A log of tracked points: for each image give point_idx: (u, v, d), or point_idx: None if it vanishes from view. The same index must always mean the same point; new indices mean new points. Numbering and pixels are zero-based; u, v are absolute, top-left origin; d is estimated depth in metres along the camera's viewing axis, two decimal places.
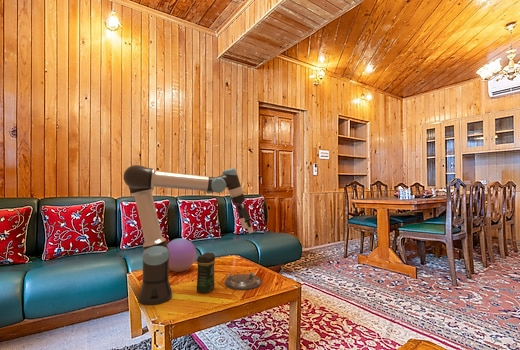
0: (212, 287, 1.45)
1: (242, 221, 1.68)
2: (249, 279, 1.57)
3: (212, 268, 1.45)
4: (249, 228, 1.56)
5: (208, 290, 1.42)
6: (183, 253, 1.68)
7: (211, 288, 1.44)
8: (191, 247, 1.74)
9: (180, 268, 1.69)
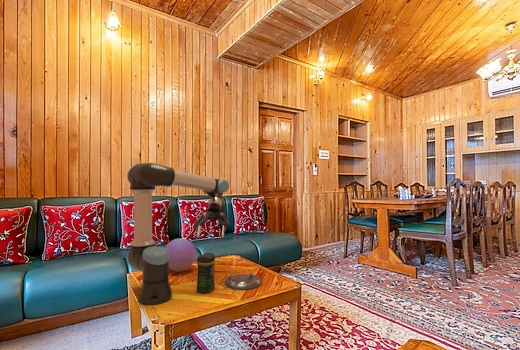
0: (212, 287, 1.45)
1: (199, 228, 1.61)
2: (249, 279, 1.57)
3: (212, 268, 1.45)
4: (223, 232, 1.59)
5: (208, 290, 1.42)
6: (183, 253, 1.68)
7: (211, 288, 1.44)
8: (191, 247, 1.74)
9: (180, 268, 1.69)
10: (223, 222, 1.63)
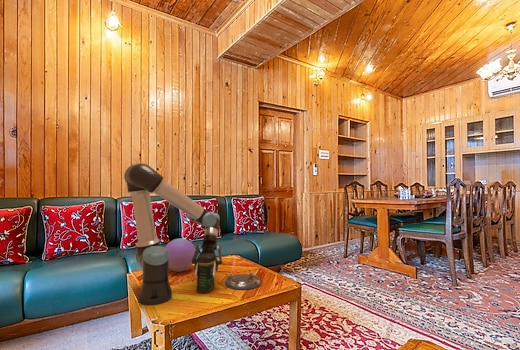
0: (212, 287, 1.45)
1: None
2: (249, 279, 1.57)
3: (212, 268, 1.45)
4: (215, 271, 1.45)
5: (208, 290, 1.42)
6: (183, 253, 1.68)
7: (211, 288, 1.44)
8: (191, 247, 1.74)
9: (180, 268, 1.69)
10: (215, 259, 1.49)
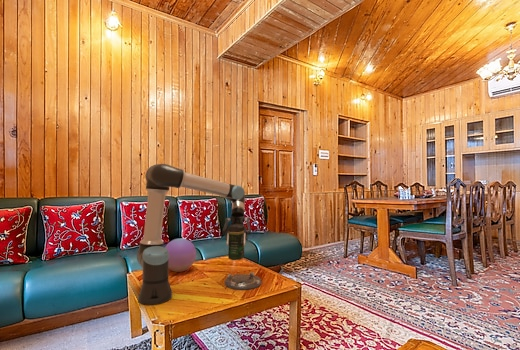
0: (242, 255, 1.53)
1: (228, 236, 1.55)
2: (249, 279, 1.57)
3: (242, 237, 1.53)
4: None
5: (239, 257, 1.51)
6: (183, 253, 1.68)
7: (242, 256, 1.53)
8: (191, 247, 1.74)
9: (180, 268, 1.69)
10: (245, 229, 1.57)
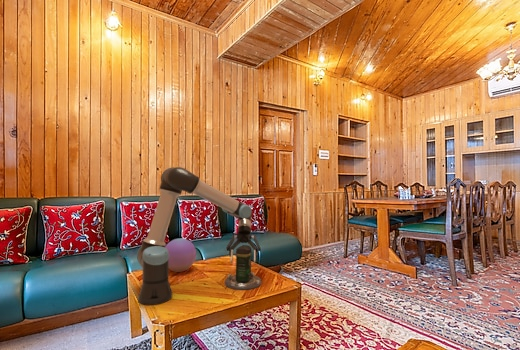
0: (250, 277, 1.55)
1: (232, 253, 1.57)
2: None
3: (250, 259, 1.55)
4: None
5: (247, 280, 1.53)
6: (183, 253, 1.68)
7: (249, 278, 1.55)
8: (191, 247, 1.74)
9: (180, 268, 1.69)
10: (254, 246, 1.60)
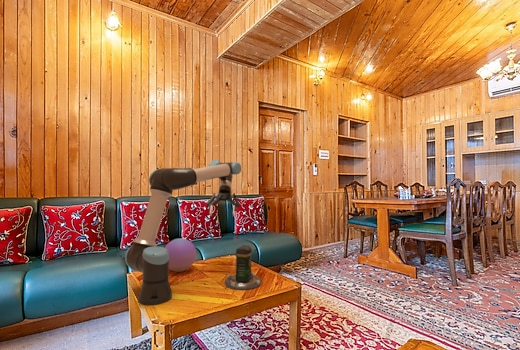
0: (250, 277, 1.55)
1: (212, 208, 1.73)
2: None
3: (250, 259, 1.55)
4: (234, 211, 1.71)
5: (247, 280, 1.53)
6: (183, 253, 1.68)
7: (249, 278, 1.55)
8: (191, 247, 1.74)
9: (180, 268, 1.69)
10: (233, 202, 1.75)
